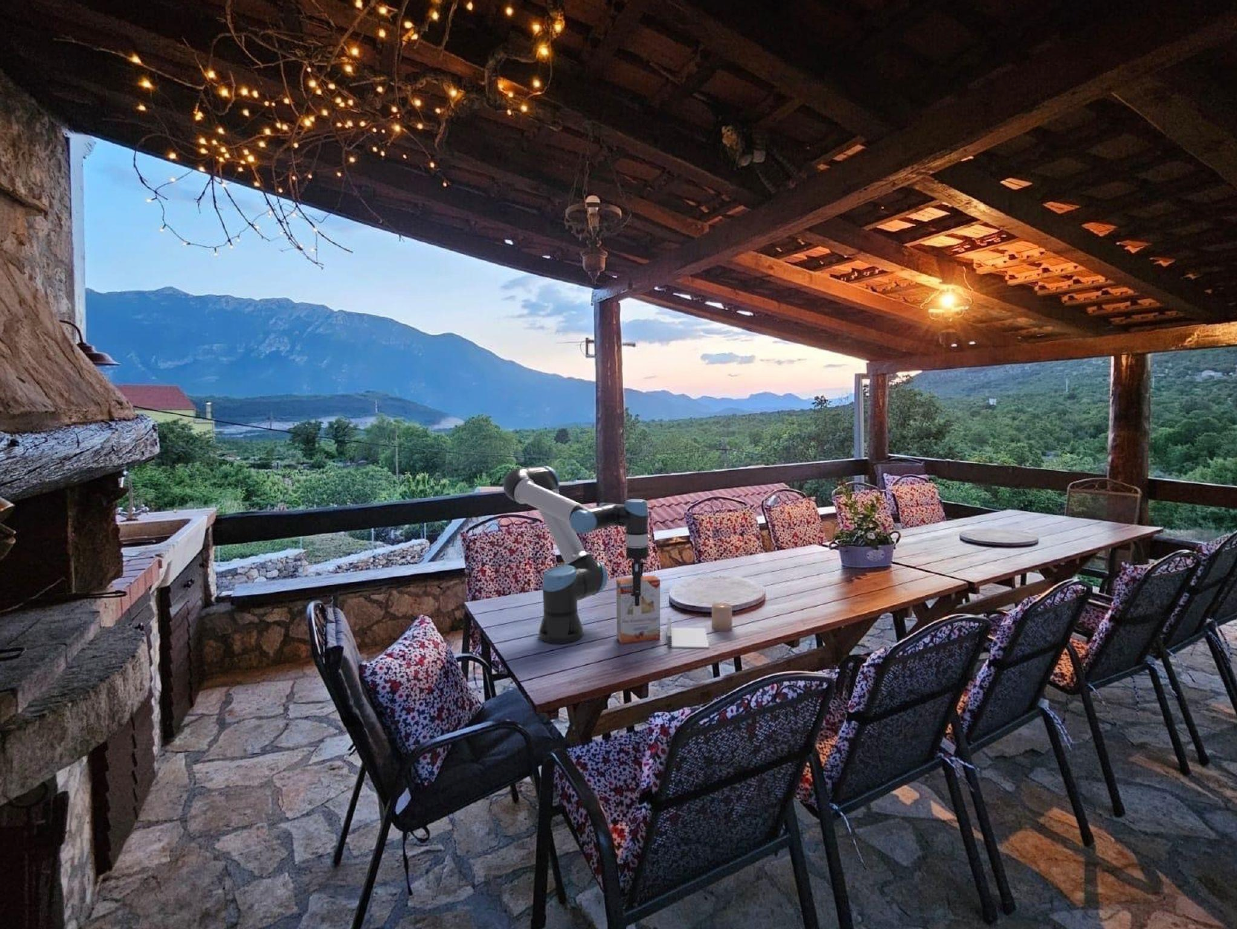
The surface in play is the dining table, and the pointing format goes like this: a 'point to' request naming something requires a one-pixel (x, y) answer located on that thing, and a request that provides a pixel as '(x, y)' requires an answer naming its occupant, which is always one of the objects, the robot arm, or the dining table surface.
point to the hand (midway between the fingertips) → (638, 608)
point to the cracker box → (649, 621)
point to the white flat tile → (686, 637)
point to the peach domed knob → (721, 617)
